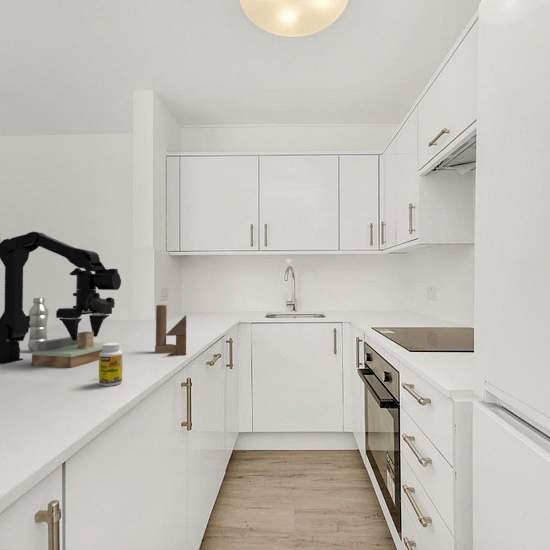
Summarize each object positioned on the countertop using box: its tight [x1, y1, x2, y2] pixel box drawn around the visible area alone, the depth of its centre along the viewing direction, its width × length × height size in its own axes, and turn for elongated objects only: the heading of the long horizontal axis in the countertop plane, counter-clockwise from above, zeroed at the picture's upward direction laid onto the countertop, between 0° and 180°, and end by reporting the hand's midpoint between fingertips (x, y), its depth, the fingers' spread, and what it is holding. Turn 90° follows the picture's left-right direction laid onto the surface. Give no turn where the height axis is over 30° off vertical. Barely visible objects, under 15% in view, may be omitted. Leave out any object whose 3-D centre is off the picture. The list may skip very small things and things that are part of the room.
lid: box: [31, 334, 107, 357], centre depth 124 cm, size 14×20×4 cm
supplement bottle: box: [98, 342, 124, 387], centre depth 99 cm, size 6×6×10 cm
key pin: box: [77, 331, 95, 349], centre depth 123 cm, size 3×3×9 cm
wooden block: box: [154, 304, 187, 357], centre depth 139 cm, size 4×11×18 cm, turn 104°
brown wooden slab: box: [31, 350, 103, 369], centre depth 124 cm, size 14×20×4 cm
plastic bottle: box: [27, 297, 49, 352], centre depth 145 cm, size 6×7×20 cm
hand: (85, 338), depth 123 cm, fingers open, 9 cm apart
